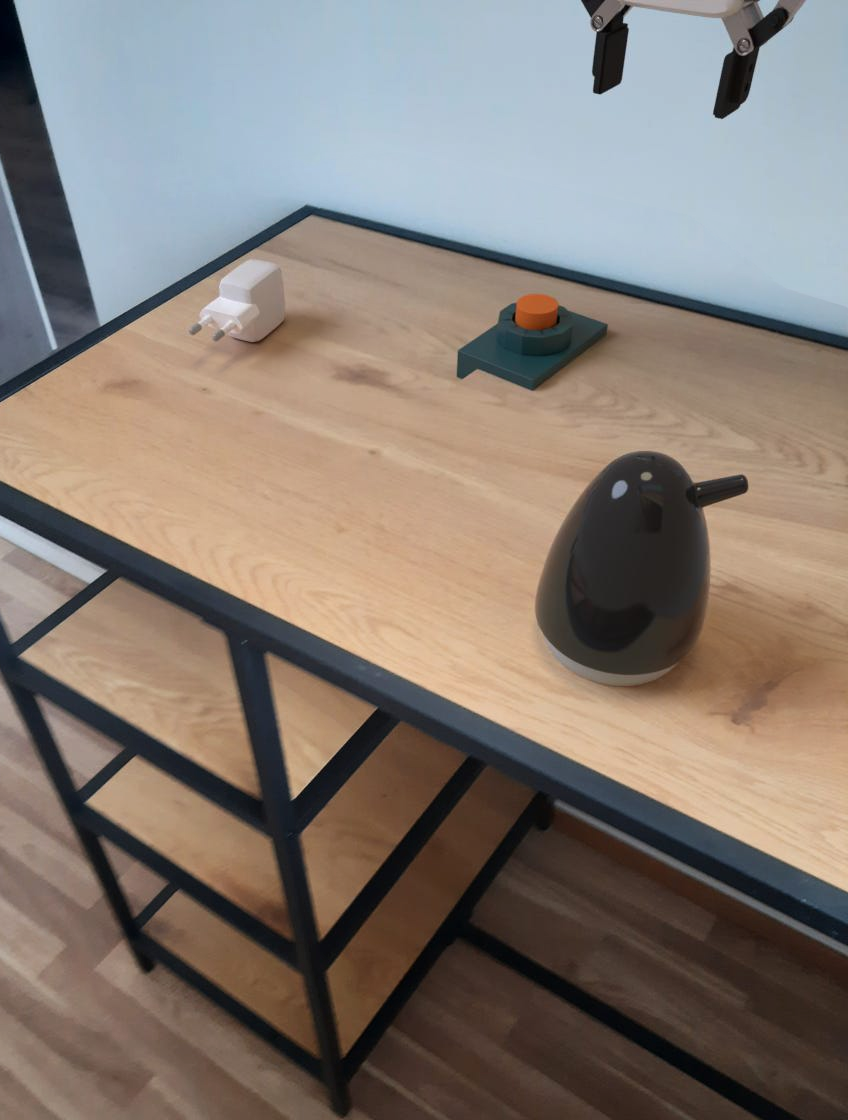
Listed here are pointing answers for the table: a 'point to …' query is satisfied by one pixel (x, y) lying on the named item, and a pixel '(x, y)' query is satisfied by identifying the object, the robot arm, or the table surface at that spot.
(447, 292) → the table surface
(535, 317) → the orange button
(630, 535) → the pump dispenser
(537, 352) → the button housing
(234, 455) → the table surface
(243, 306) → the power adapter
